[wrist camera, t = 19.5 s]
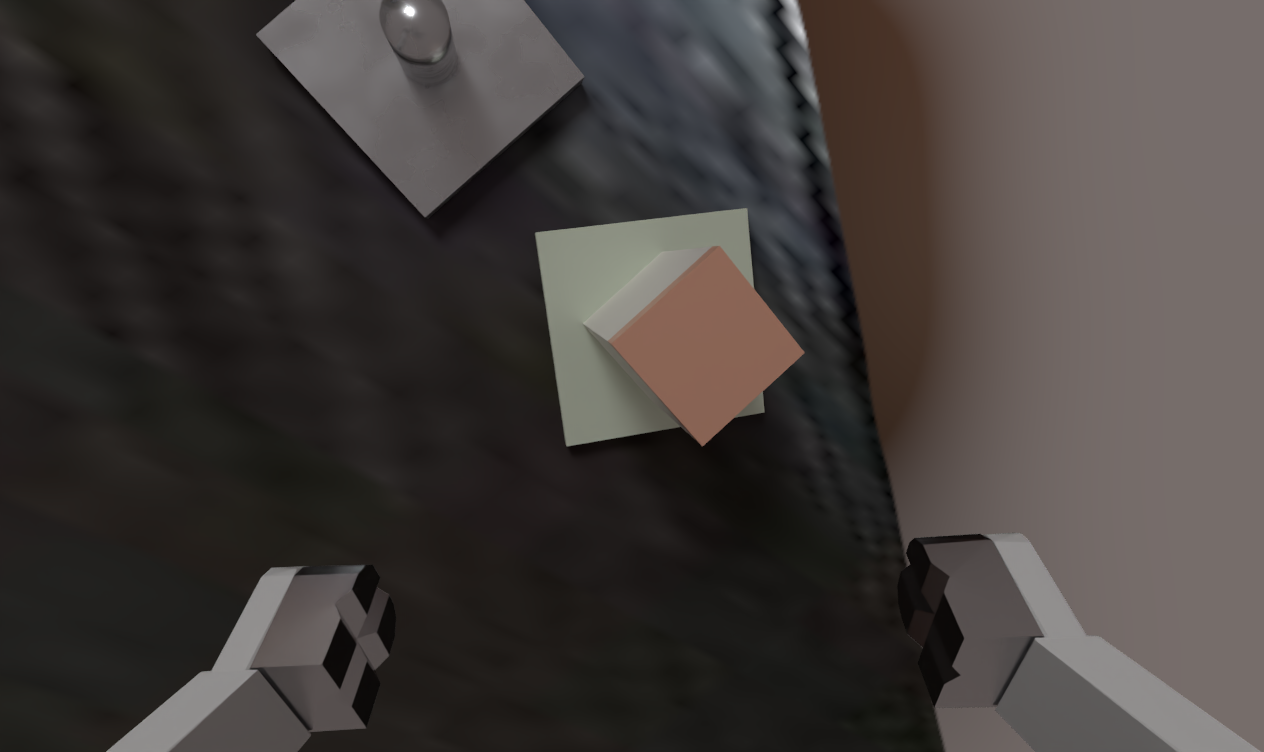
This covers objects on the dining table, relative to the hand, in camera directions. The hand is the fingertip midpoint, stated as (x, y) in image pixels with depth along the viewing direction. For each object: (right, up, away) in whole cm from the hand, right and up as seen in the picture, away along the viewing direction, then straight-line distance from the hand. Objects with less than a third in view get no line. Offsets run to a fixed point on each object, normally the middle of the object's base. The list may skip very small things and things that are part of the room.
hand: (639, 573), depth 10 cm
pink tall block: (+1, +6, +27) cm, 28 cm away
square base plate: (-10, +19, +23) cm, 32 cm away
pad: (+1, +6, +28) cm, 28 cm away
